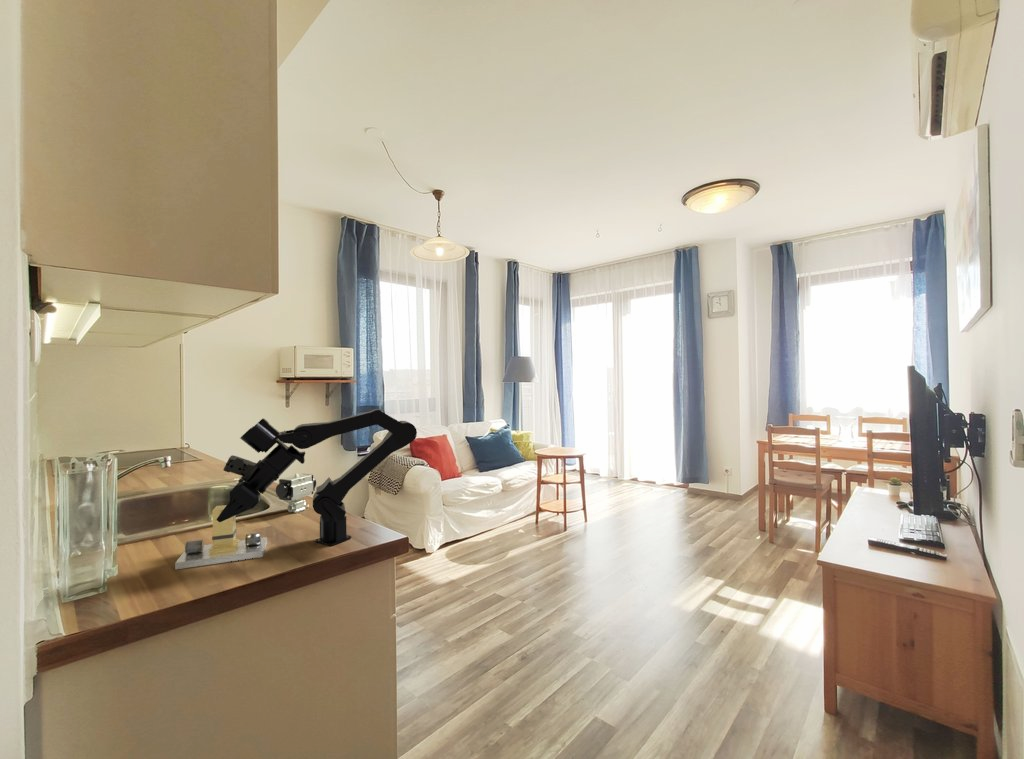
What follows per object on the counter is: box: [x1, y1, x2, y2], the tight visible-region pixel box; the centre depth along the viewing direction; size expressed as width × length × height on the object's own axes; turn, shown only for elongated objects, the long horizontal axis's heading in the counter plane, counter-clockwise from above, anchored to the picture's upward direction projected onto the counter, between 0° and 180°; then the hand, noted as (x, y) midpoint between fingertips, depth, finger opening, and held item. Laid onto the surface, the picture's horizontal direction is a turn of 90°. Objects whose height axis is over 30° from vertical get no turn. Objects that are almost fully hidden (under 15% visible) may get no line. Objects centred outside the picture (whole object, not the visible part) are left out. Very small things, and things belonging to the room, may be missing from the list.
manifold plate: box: [174, 532, 268, 570], centre depth 107 cm, size 17×10×4 cm, turn 113°
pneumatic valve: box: [275, 473, 317, 514], centre depth 142 cm, size 6×12×12 cm, turn 156°
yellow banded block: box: [209, 504, 240, 555], centre depth 107 cm, size 5×5×10 cm
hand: (222, 515), depth 107 cm, fingers open, 9 cm apart
